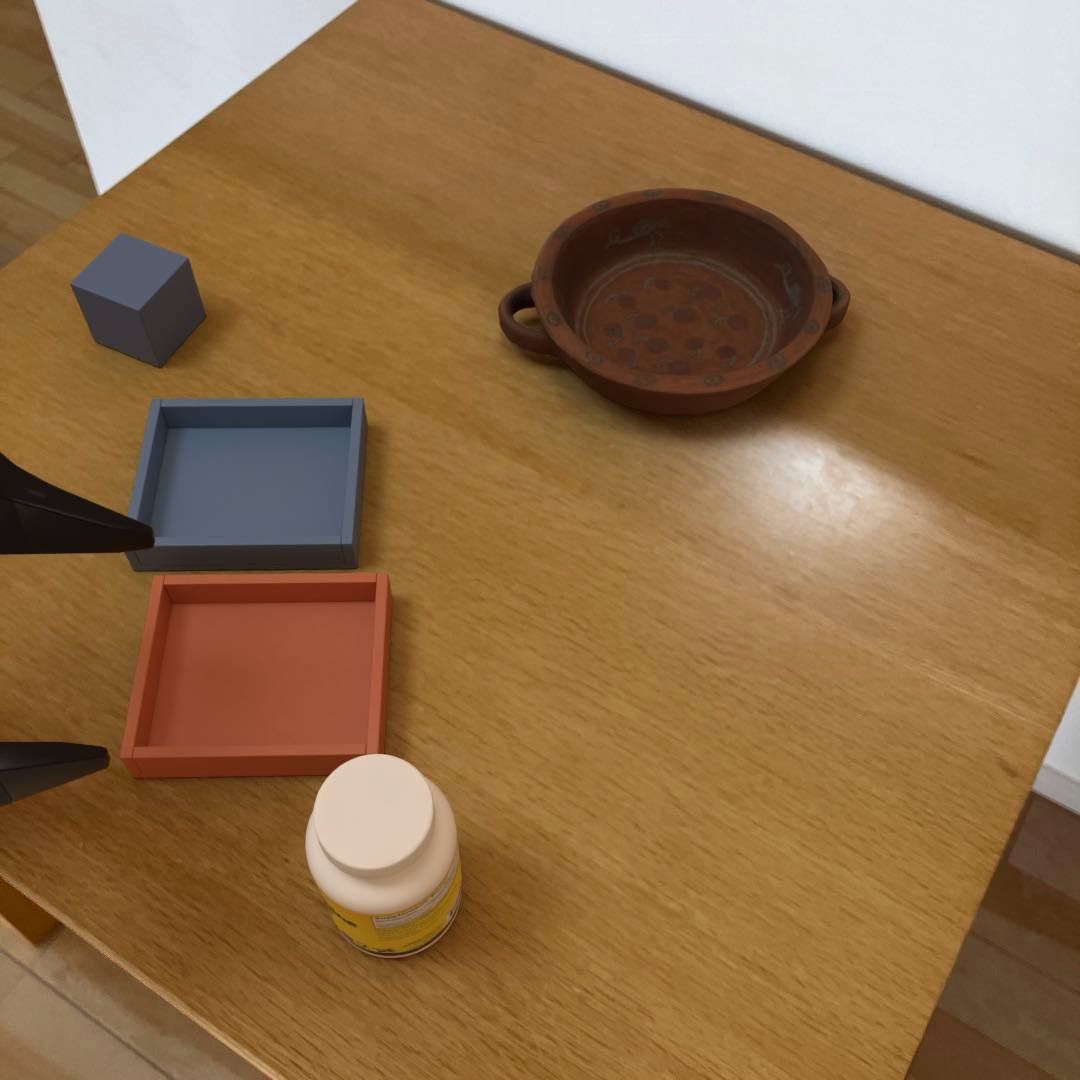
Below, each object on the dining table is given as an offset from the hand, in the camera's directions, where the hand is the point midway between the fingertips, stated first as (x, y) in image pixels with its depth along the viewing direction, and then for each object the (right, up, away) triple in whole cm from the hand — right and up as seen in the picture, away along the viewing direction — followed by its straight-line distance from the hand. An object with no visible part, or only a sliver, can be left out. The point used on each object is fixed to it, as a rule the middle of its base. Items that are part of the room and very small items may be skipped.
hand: (132, 641), depth 43 cm
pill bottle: (+8, -13, +11) cm, 19 cm away
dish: (+24, +16, +31) cm, 42 cm away
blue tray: (-1, +6, +24) cm, 24 cm away
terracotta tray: (+1, -4, +17) cm, 17 cm away
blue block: (-9, +17, +30) cm, 36 cm away
